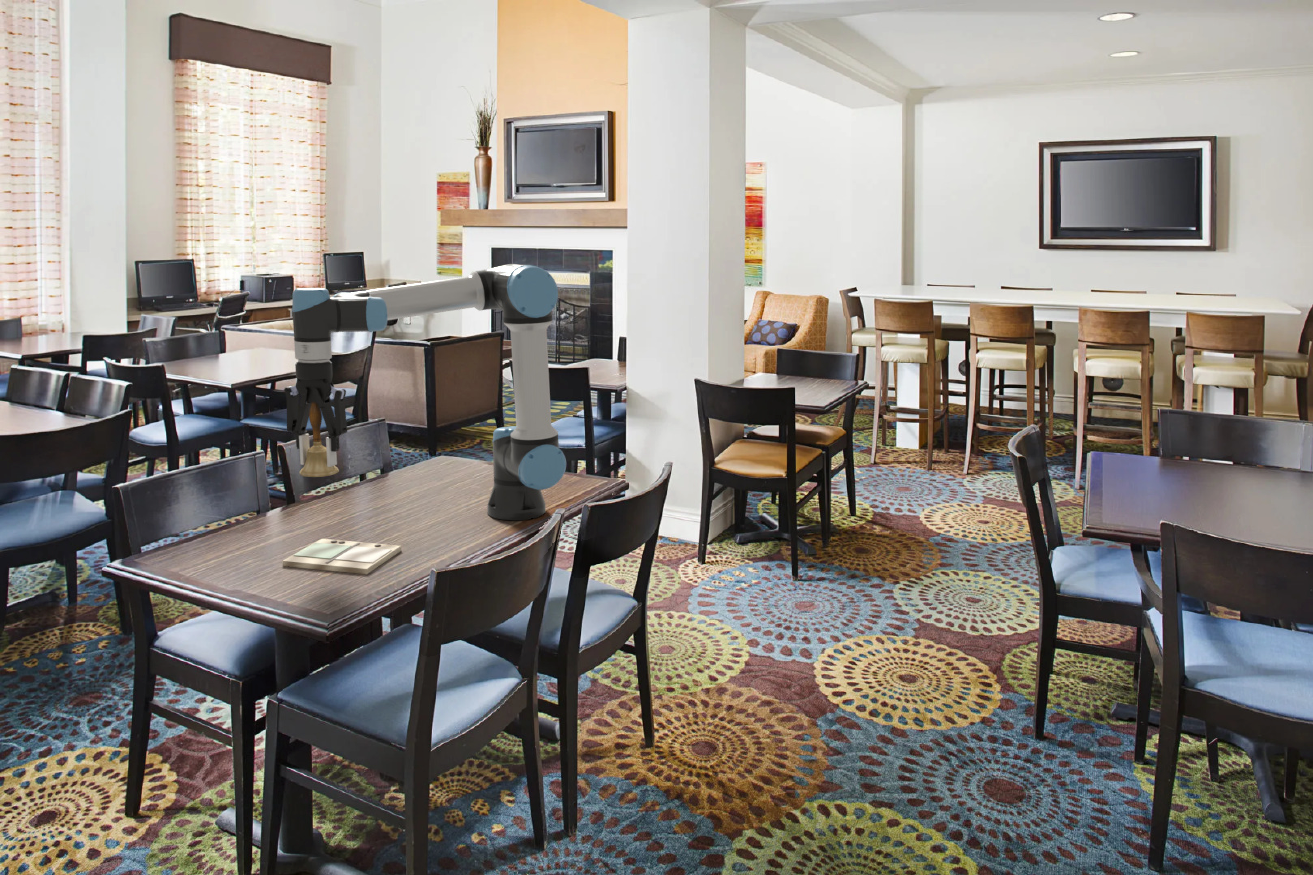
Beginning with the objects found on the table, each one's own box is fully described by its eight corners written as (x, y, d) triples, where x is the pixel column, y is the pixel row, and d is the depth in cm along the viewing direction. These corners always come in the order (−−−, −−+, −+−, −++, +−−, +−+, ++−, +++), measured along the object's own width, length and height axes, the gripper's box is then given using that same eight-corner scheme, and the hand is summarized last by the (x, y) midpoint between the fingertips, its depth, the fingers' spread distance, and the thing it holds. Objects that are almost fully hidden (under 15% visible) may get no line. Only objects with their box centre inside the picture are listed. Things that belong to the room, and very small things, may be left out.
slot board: (401, 550, 221) (400, 544, 221) (367, 574, 206) (366, 567, 205) (322, 543, 225) (321, 537, 225) (282, 565, 210) (282, 559, 209)
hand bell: (300, 478, 207) (296, 405, 204) (298, 469, 215) (294, 399, 212) (340, 475, 211) (337, 403, 207) (337, 467, 218) (333, 397, 215)
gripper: (264, 360, 206) (270, 465, 211) (344, 364, 202) (348, 471, 207) (284, 356, 213) (290, 457, 218) (362, 360, 209) (366, 463, 214)
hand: (318, 464), depth 212 cm, fingers closed on hand bell, 6 cm apart
